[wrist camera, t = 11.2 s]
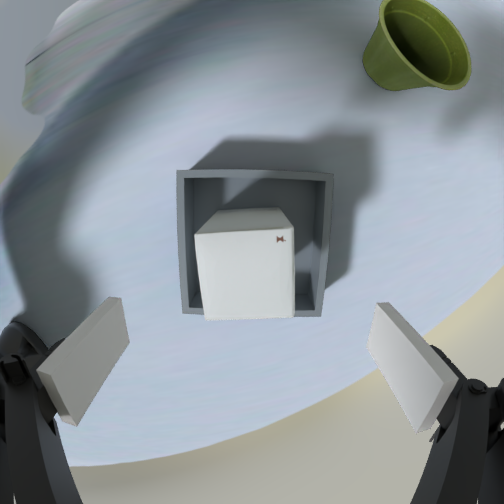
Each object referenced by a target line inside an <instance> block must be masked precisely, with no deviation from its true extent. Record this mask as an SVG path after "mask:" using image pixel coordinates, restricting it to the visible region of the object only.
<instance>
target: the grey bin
mask: <svg viewBox="0 0 504 504" xmlns="http://www.w3.org/2000/svg"><path fill="white" fill-rule="evenodd" d="M333 177H334V174H330V173H316V172H301V171H281V170H248V169H204V170H177V234H178V256H179V273H180V288H181V300H182V312H183V313H184V314H201V315H204V310H203V303H202V297H201V290H200V282H199V275H198V266H197V258H196V249H195V237H194V235H195V233H196V232H197V231H198V230H199V229H200V228H201V227H202V226H203V225H204V224H205V223H206V222H207V221H208V220H209V219H210V218H211V217H212V216H213V215H214V214H215V213H216V212H217V211H218V210H229V209H246V208H269V207H280V209H281V210H282V212H283V213H284V214H285V216H286V217H287V219H288V220H289V221H290V223H291V224H292V226H293V227H294V266H295V315H294V317H321V313H322V305H323V298H324V290H325V281H326V272H327V263H328V252H329V241H330V229H331V215H332V199H333Z"/></svg>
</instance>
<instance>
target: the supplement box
mask: <svg viewBox="0 0 504 504" xmlns="http://www.w3.org/2000/svg"><path fill="white" fill-rule="evenodd" d="M194 237H195V249H196V258H197V266H198V275H199V282H200V290H201V297H202V303H203V310H204V316H205V320H240V319H270V318H292V317H294V315H295V266H294V227H293V226H292V224H291V223H290V221H289V220H288V219H287V217H286V216H285V214H284V213H283V212H282V210H281V209H280V207H269V208H246V209H229V210H218V211H217V212H216V213H215V214H214V215H213V216H212V217H211V218H210V219H209V220H208V221H207V222H206V223H205V224H204V225H203V226H202V227H201V228H200V229H199V230H198V231H197V232H196V233H195V235H194Z"/></svg>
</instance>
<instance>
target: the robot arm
mask: <svg viewBox="0 0 504 504" xmlns="http://www.w3.org/2000/svg"><path fill="white" fill-rule="evenodd" d="M129 343H130V341H129V337H128V332H127V327H126V322H125V317H124V311H123V305H122V299H121V298H116V297H108V298H107V299H106V300H105V301H104V302H103V303H102V304H101V305H100V306H99V307H98V308H97V309H96V310H95V311H93V312H92V313H91V314H90V315H89V316H88V317H87V318H86V319H85V320H84V321H83V322H82V323H81V324H80V325H79V326H78V327H77V328H76V329H75V330H74V331H73V332H72V333H71V334H70V335H69V336H68V337H67V338H66V339H65V338H64V339H62V340H60V341H58V342H56V343H55V344H54V345H53V346H52V347H51V348H50V349H49V351H48V349H47V348H46V346H45V345H44V344H43V342H42V341H41V340H40V339H39V337H38V336H37V335H36V334H35V333H34V332H33V331H32V330H30V329H29V328H28V327H27V326H25V325H23V324H21V323H19V322H12V323H10V324H9V325H8V326H6V327H5V328H4V329H3V331H2V333H1V335H0V504H14V496H15V500H16V504H83V503H82V500H81V498H80V496H79V493H78V491H77V488H76V485H75V483H74V480H73V477H72V475H71V472H70V469H69V466H68V463H67V460H66V456H65V453H64V450H63V446H62V443H61V439H60V435H59V431H58V427H57V423H56V421H55V419H54V416H55V414H56V413H57V412H58V414H59V416H60V418H61V419H62V421H63V422H65V423H68V424H71V425H74V426H76V427H77V426H78V424H79V422H80V421H81V419H82V417H83V416H84V414H85V412H86V411H87V409H88V407H89V406H90V404H91V402H92V401H93V399H94V397H95V396H96V394H97V393H98V391H99V389H100V388H101V386H102V385H103V383H104V381H105V380H106V378H107V377H108V375H109V374H110V372H111V370H112V369H113V367H114V366H115V364H116V363H117V361H118V360H119V358H120V357H121V355H122V353H123V352H124V350H125V349H126V347H127V346H128V344H129ZM366 348H367V349H368V351H369V353H370V354H371V356H372V358H373V359H374V361H375V363H376V364H377V366H378V368H379V369H380V371H381V373H382V374H383V376H384V378H385V380H386V381H387V383H388V385H389V386H390V388H391V390H392V392H393V393H394V395H395V397H396V398H397V400H398V402H399V404H400V406H401V407H402V409H403V411H404V413H405V414H406V416H407V418H408V420H409V422H410V424H411V425H412V427H413V429H414V431H415V433H419V432H422V431H425V430H428V429H430V428H431V427H432V425H433V424H434V422H435V421H436V419H437V420H438V421H439V423H440V425H439V427H438V428H437V430H436V431H435V433H434V434H433V436H432V438H431V439H430V441H429V442H431V441H432V440H433V439H434V441H433V445H432V448H431V451H430V454H429V458H428V460H427V463H426V466H425V469H424V472H423V475H422V477H421V479H420V482H419V485H418V487H417V489H416V492H415V494H414V496H413V499H412V501H411V503H410V504H477V500H478V504H504V428H503V430H501V427H500V426H501V424H502V423H503V421H504V378H503V379H502V380H501V382H500V384H499V385H498V387H491V388H488V387H487V386H486V384H485V383H483V382H482V381H480V380H477V379H468V380H467V378H466V377H465V376H464V375H463V374H462V373H461V372H460V371H459V370H458V368H457V367H456V366H455V365H454V364H453V363H451V360H450V359H449V358H447V356H446V355H445V354H444V353H443V352H442V351H441V350H440V349H438V348H437V347H435V346H433V345H429V344H428V343H427V342H426V341H425V340H424V339H423V338H422V337H421V336H420V335H419V333H418V332H417V331H416V330H415V329H414V328H413V327H412V326H411V325H410V324H409V323H408V322H407V321H406V320H405V319H404V318H403V317H402V316H401V315H400V313H399V312H398V311H397V310H396V309H395V308H394V307H393V306H392V305H391V304H390V303H389V302H386V303H376V306H375V311H374V316H373V320H372V325H371V329H370V333H369V338H368V342H367V345H366Z"/></svg>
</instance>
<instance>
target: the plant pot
mask: <svg viewBox="0 0 504 504" xmlns="http://www.w3.org/2000/svg"><path fill="white" fill-rule="evenodd" d="M363 65H364V68H365V70H366V72H367V74H368V75H369V76H370V77H371V78H372V79H373V80H374V81H375V82H376V83H377V84H378V85H379V86H381V87H382V88H385V89H387V90H391V91H400V90H406V89H412V88H419V87H427V86H430V87H438V88H441V89H445V90H458V89H460V88H462V87H464V86H465V85H466V84H467V82H468V80H469V78H470V75H471V58H470V54H469V51H468V48H467V46H466V43H465V41H464V40H463V38H462V36H461V34H460V33H459V31H458V30H457V28H456V27H455V26H454V25H453V23H452V22H451V21H450V20H449V19H448V18H447V17H446V16H445V15H444V14H443V13H442V12H441V11H440V10H438V9H437V8H436V7H434V6H433V5H431V4H430V3H428V2H427V1H425V0H383V1H382V3H381V5H380V8H379V21H378V26H377V28H376V30H375V32H374V34H373V36H372V38H371V40H370V41H369V43H368V45H367V47H366V49H365V51H364V54H363Z"/></svg>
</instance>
